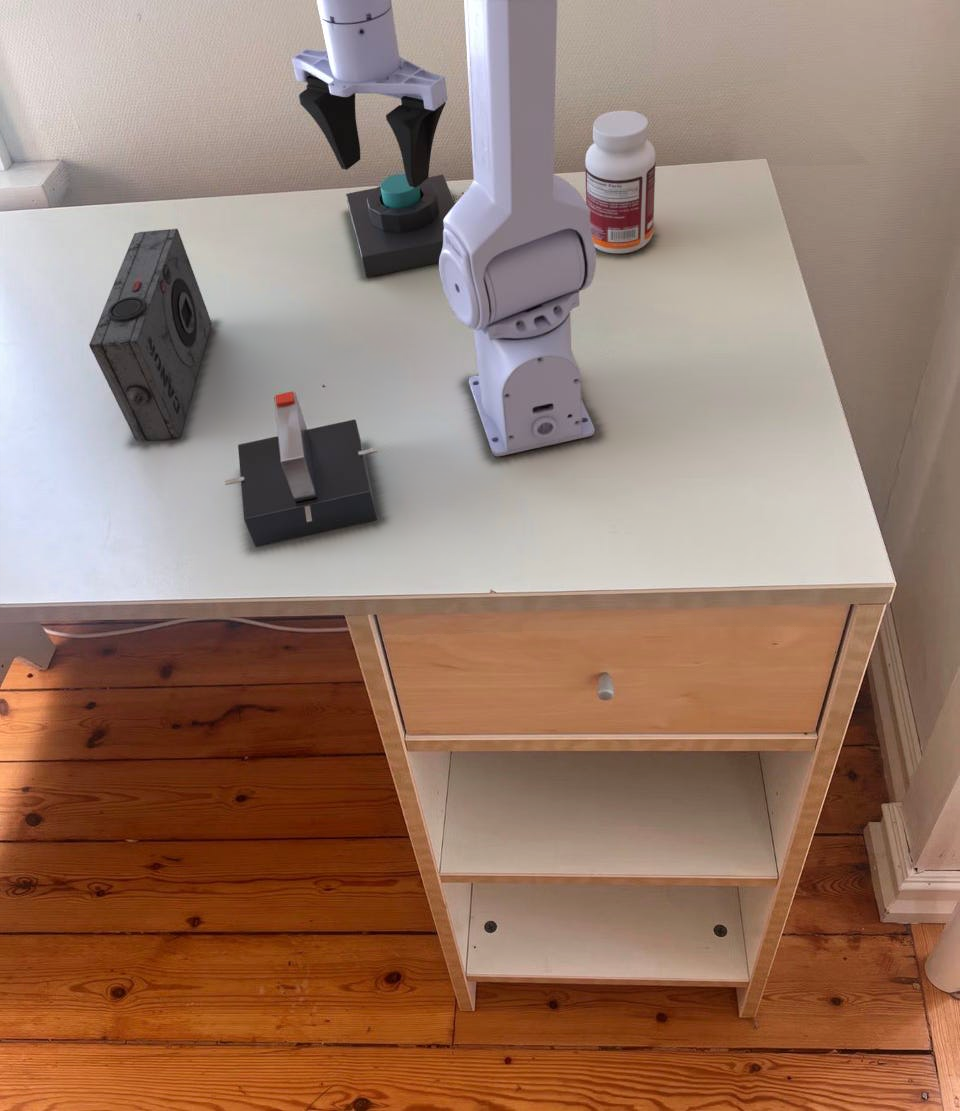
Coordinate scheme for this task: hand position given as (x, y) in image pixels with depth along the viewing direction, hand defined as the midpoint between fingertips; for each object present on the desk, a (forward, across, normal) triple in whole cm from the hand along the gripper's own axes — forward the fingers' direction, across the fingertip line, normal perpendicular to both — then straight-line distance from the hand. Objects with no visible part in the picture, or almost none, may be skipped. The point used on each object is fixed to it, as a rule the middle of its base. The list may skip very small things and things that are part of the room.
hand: (384, 172), depth 86 cm
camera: (+8, -6, -24) cm, 26 cm away
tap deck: (+8, +13, -29) cm, 33 cm away
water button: (+5, -1, +3) cm, 6 cm away
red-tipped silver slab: (+5, +13, -29) cm, 32 cm away
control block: (+8, -1, +3) cm, 9 cm away
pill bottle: (+8, +18, +11) cm, 23 cm away
